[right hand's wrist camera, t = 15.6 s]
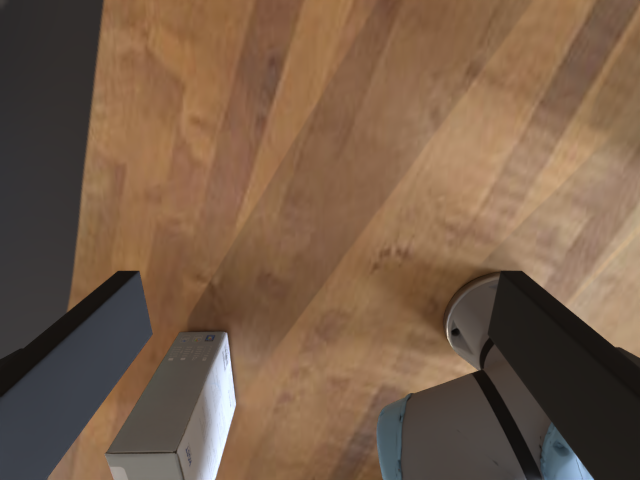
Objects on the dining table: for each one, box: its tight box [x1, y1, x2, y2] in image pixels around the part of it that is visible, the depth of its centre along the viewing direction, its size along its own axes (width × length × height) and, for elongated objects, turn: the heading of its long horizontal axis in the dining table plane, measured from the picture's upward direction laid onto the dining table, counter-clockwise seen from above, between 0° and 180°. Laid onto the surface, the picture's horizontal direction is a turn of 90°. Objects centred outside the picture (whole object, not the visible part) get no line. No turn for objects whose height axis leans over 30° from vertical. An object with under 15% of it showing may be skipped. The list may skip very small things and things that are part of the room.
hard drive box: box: [105, 332, 236, 480], centre depth 47 cm, size 16×8×20 cm, turn 1°
